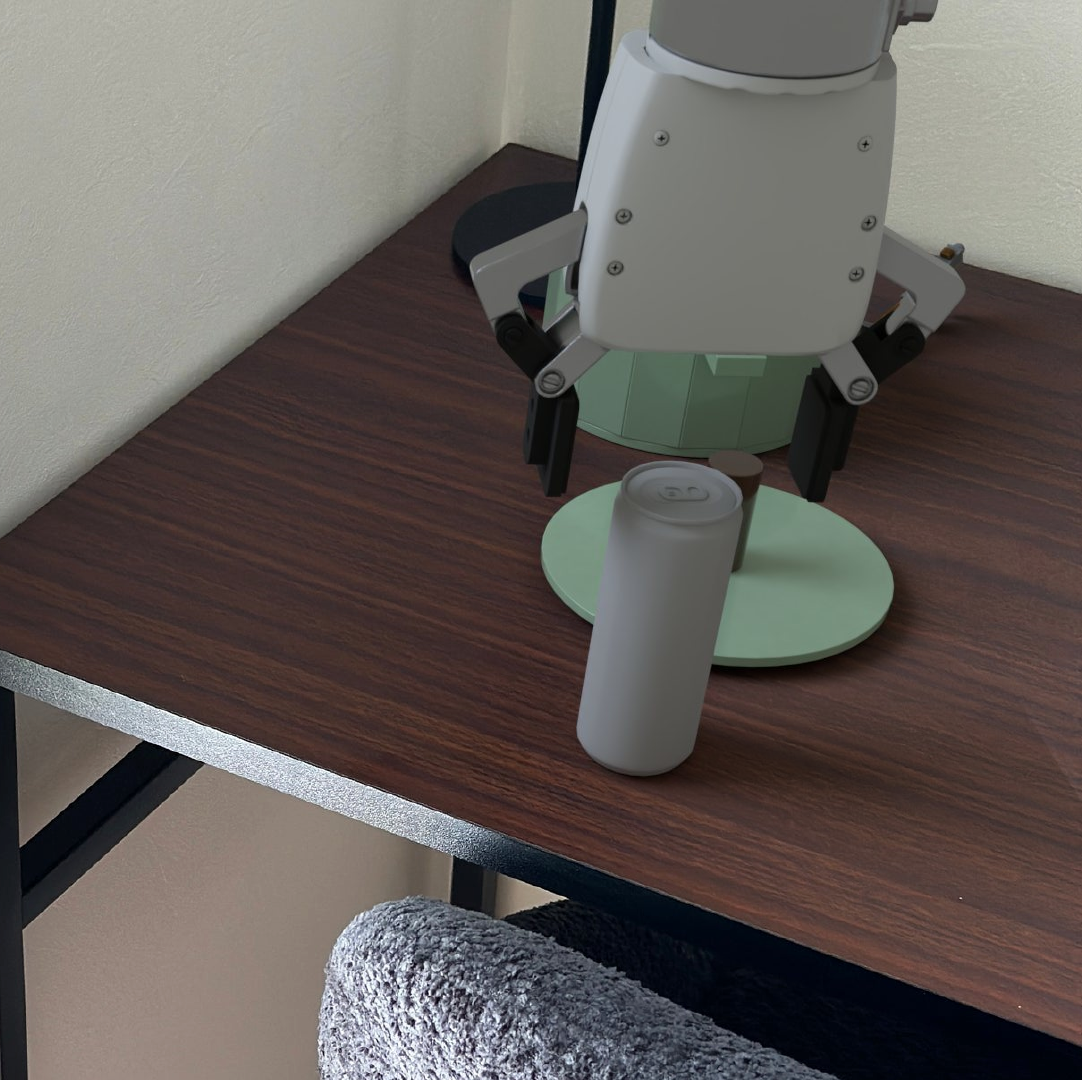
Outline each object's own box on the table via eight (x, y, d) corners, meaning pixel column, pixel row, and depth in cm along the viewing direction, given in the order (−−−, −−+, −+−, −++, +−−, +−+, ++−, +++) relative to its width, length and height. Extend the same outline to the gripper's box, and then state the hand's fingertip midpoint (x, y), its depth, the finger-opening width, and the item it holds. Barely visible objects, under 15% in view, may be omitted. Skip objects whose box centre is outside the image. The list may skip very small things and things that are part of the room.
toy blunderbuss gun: (975, 300, 119) (976, 238, 115) (889, 392, 117) (888, 332, 114) (947, 290, 120) (947, 228, 116) (862, 381, 118) (859, 321, 115)
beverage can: (564, 714, 89) (605, 459, 81) (676, 712, 89) (728, 457, 81) (587, 783, 85) (633, 523, 77) (704, 781, 85) (761, 521, 78)
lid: (839, 496, 103) (867, 382, 100) (931, 680, 91) (967, 558, 87) (517, 492, 103) (532, 377, 99) (566, 677, 91) (585, 554, 87)
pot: (773, 309, 120) (800, 180, 115) (865, 486, 104) (900, 346, 99) (514, 305, 119) (530, 176, 115) (568, 483, 104) (589, 341, 99)
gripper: (997, -17, 71) (878, 439, 82) (489, -33, 71) (436, 429, 82) (1072, 58, 65) (933, 538, 76) (518, 42, 65) (458, 528, 76)
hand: (677, 482), depth 79 cm, fingers open, 9 cm apart
